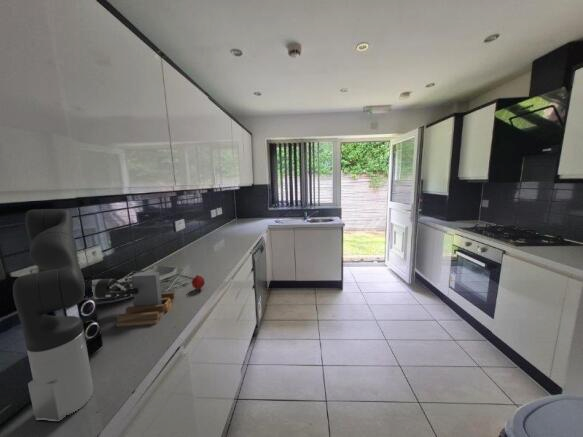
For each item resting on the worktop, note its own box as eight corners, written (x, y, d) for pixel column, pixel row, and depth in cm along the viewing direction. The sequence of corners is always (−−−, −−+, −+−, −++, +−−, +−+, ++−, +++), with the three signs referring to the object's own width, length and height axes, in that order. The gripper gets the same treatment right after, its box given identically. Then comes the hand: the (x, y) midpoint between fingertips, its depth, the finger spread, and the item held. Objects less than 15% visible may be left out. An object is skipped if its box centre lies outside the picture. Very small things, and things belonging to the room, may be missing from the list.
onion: (192, 288, 116) (191, 273, 115) (204, 286, 118) (203, 271, 117) (192, 293, 111) (191, 277, 109) (205, 291, 113) (203, 275, 112)
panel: (159, 309, 95) (155, 275, 92) (135, 311, 93) (131, 276, 91) (162, 305, 97) (158, 272, 95) (139, 307, 96) (135, 273, 94)
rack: (159, 323, 87) (158, 314, 86) (116, 326, 85) (115, 318, 84) (177, 297, 106) (177, 290, 106) (143, 300, 105) (142, 292, 104)
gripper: (85, 288, 84) (133, 285, 86) (110, 273, 98) (151, 271, 100) (88, 306, 86) (135, 303, 88) (113, 289, 99) (152, 287, 101)
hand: (143, 286), depth 94 cm, fingers open, 8 cm apart
